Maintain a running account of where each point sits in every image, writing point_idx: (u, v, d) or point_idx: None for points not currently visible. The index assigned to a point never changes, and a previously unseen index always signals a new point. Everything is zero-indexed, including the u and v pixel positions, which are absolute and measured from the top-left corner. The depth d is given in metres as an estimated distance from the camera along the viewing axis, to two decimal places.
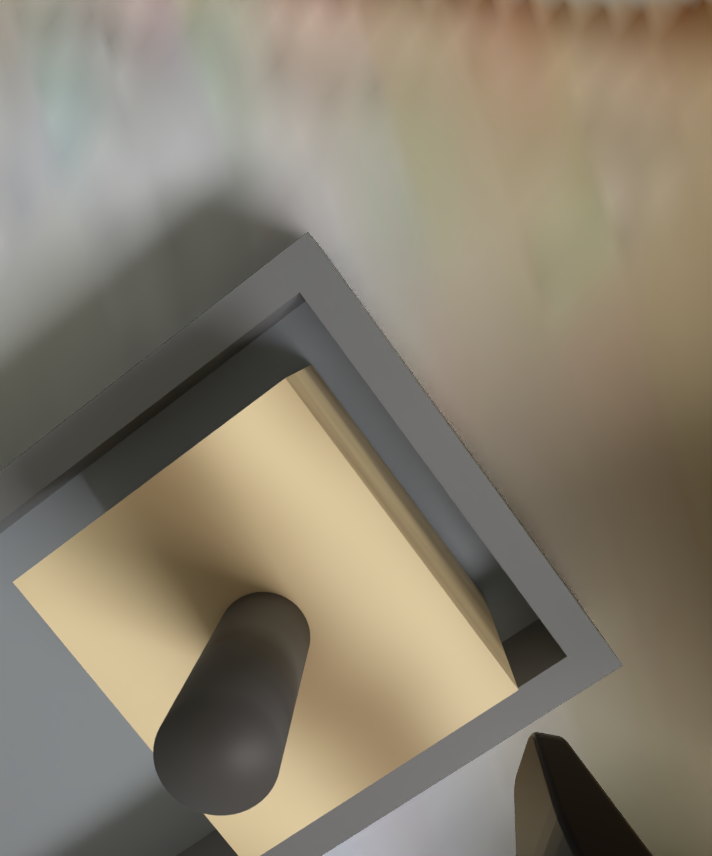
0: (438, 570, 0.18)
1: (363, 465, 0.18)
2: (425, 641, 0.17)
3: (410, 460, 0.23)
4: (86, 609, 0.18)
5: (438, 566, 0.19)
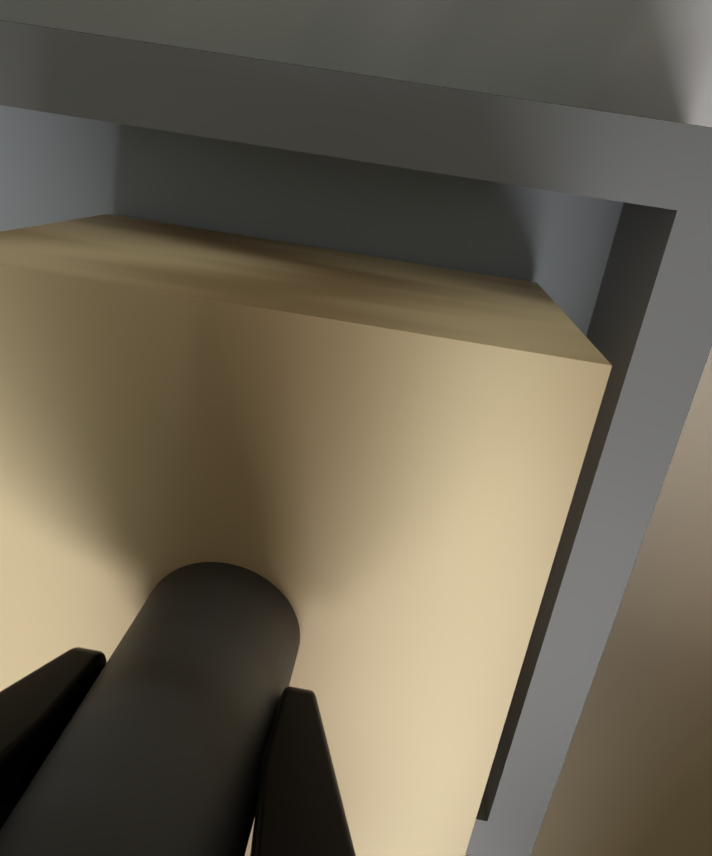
0: None
1: None
2: (409, 789, 0.11)
3: None
4: None
5: None
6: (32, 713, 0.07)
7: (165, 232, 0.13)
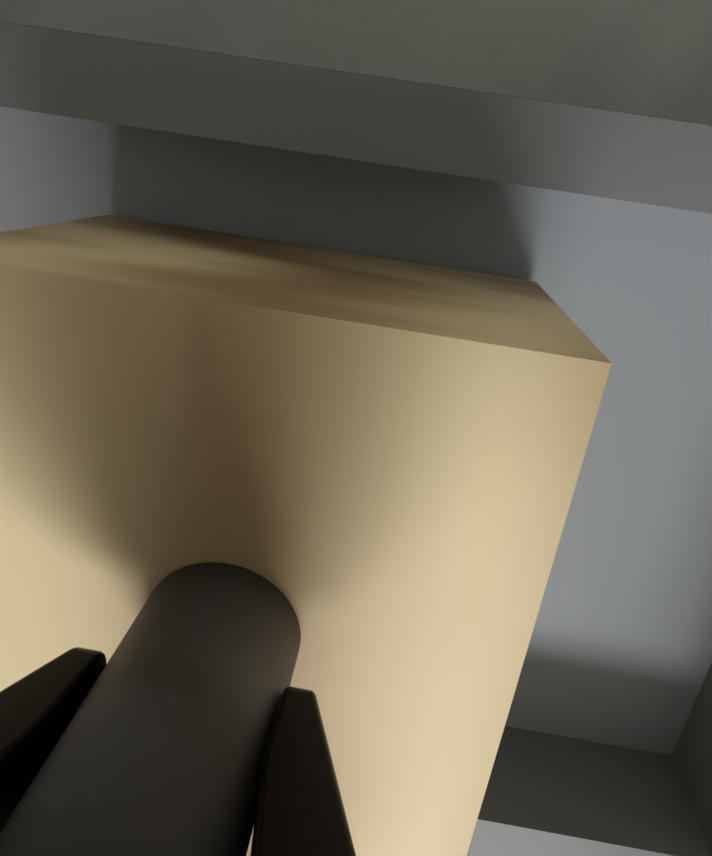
0: None
1: None
2: (410, 789, 0.11)
3: None
4: None
5: None
6: (32, 713, 0.07)
7: (164, 233, 0.13)
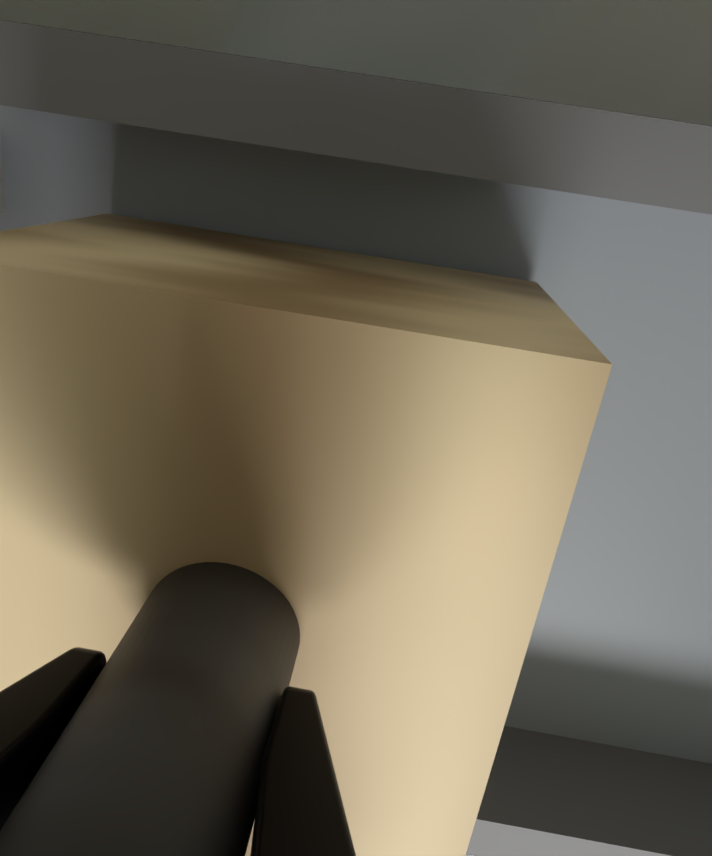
0: None
1: None
2: (409, 790, 0.11)
3: None
4: None
5: None
6: (32, 713, 0.07)
7: (164, 232, 0.13)
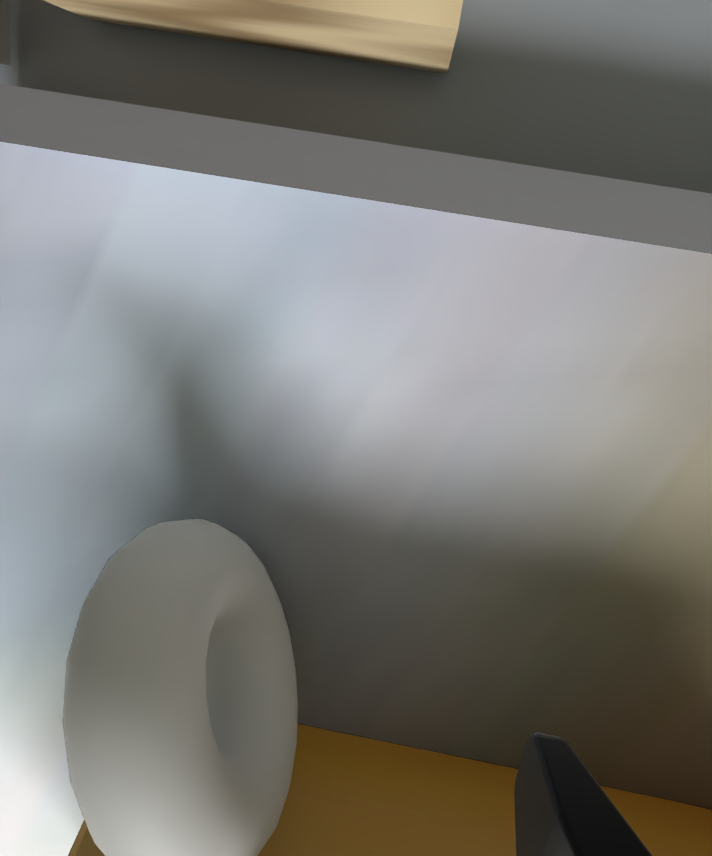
0: None
1: None
2: None
3: None
4: None
5: None
6: None
7: None
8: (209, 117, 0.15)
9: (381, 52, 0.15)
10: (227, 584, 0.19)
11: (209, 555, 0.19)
